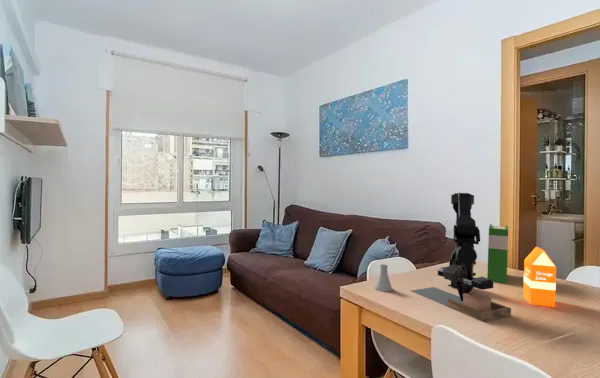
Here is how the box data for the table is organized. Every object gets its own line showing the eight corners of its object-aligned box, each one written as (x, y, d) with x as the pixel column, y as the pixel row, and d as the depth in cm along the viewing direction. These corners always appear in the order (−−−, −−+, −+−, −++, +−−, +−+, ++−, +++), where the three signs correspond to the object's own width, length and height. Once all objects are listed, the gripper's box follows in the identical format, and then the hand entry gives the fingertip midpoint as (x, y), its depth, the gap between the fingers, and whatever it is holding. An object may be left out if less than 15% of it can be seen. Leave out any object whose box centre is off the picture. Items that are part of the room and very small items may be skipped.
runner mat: (433, 287, 138) (433, 286, 138) (510, 316, 109) (510, 315, 109) (409, 291, 133) (409, 290, 133) (483, 322, 104) (483, 321, 104)
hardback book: (488, 272, 165) (489, 224, 164) (505, 274, 161) (507, 225, 161) (487, 281, 150) (488, 228, 149) (506, 283, 146) (508, 229, 146)
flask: (393, 293, 130) (393, 268, 130) (374, 291, 132) (374, 266, 132) (391, 287, 138) (392, 263, 137) (373, 286, 139) (374, 262, 139)
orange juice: (546, 299, 127) (548, 247, 127) (555, 307, 119) (557, 251, 118) (522, 296, 130) (524, 245, 129) (529, 304, 121) (531, 249, 121)
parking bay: (473, 301, 122) (473, 294, 122) (510, 315, 109) (511, 308, 109) (447, 306, 116) (447, 299, 116) (484, 322, 104) (484, 314, 104)
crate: (474, 305, 118) (475, 291, 117) (491, 312, 112) (491, 297, 112) (462, 308, 115) (462, 293, 115) (478, 314, 109) (479, 299, 109)
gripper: (427, 253, 123) (426, 295, 123) (472, 266, 106) (470, 314, 106) (449, 251, 127) (447, 292, 128) (495, 263, 111) (493, 309, 111)
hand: (463, 301), depth 118 cm, fingers closed
